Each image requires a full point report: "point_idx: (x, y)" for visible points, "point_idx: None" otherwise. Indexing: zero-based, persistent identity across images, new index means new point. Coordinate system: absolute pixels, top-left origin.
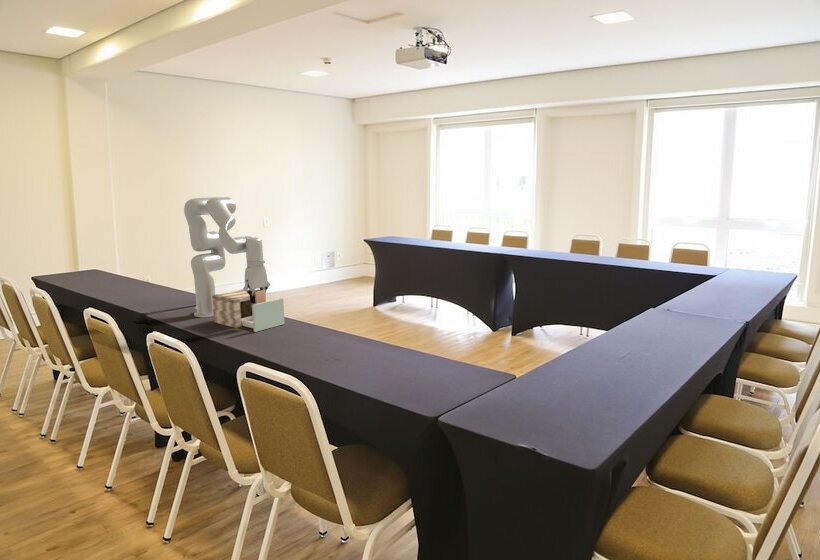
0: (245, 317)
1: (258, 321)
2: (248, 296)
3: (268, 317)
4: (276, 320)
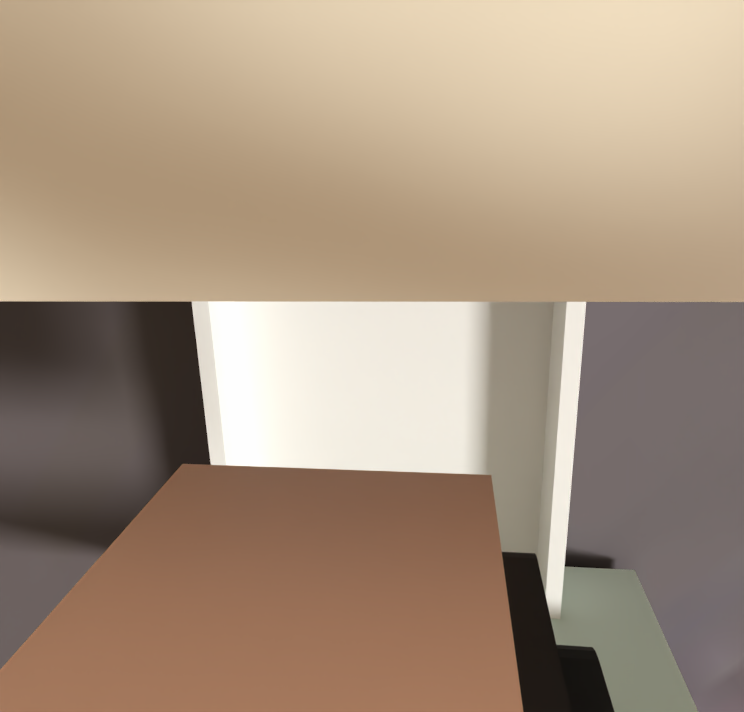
0: None
1: None
2: (242, 202)
3: None
4: None
